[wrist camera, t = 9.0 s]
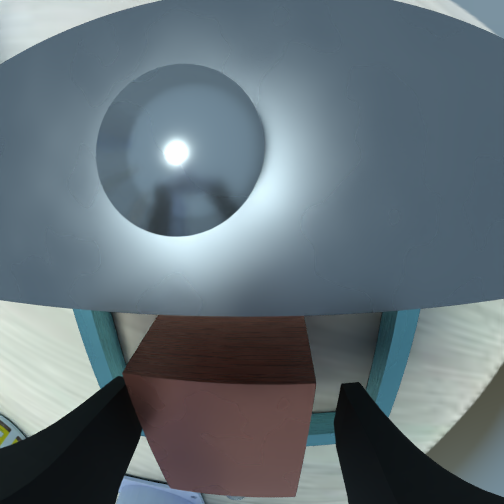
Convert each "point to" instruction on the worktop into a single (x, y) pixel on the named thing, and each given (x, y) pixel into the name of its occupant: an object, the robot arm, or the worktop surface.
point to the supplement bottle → (9, 433)
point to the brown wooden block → (225, 402)
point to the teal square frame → (255, 169)
